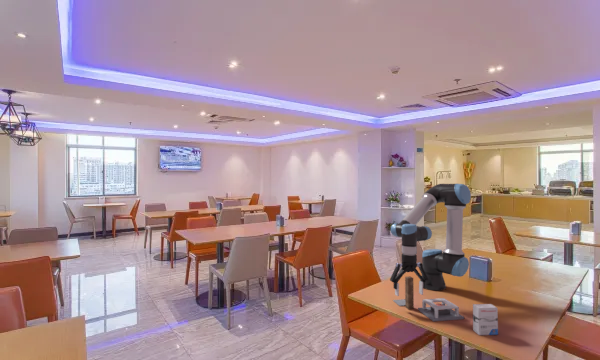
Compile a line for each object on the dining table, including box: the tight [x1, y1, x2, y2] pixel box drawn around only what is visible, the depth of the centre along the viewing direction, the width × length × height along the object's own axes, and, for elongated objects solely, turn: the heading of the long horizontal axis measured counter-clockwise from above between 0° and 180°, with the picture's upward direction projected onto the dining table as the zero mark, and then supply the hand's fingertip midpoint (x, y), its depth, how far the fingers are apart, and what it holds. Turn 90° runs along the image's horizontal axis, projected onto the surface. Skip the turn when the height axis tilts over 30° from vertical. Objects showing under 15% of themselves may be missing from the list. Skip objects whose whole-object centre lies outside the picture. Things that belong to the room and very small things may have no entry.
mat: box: [392, 298, 405, 307], centre depth 175 cm, size 8×8×1 cm
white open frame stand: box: [417, 297, 465, 322], centre depth 160 cm, size 16×14×6 cm
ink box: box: [472, 303, 499, 336], centre depth 140 cm, size 8×5×12 cm, turn 92°
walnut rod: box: [404, 275, 415, 310], centre depth 168 cm, size 3×3×16 cm
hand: (409, 294), depth 167 cm, fingers open, 13 cm apart
